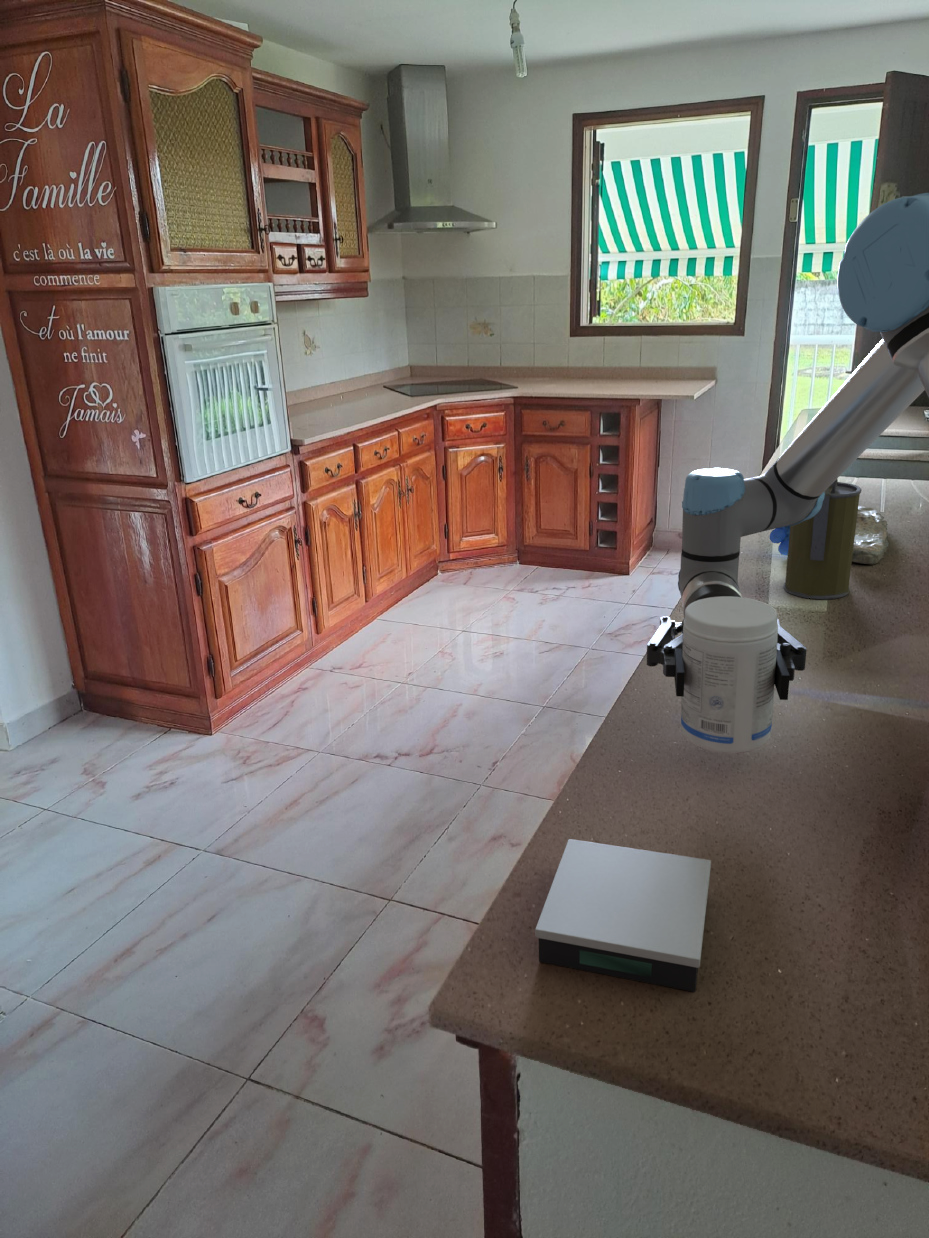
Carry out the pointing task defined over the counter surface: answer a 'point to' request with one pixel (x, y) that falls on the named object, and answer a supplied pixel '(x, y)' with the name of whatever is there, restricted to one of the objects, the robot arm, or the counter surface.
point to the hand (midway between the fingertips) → (732, 686)
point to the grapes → (781, 538)
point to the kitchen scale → (626, 914)
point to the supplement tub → (728, 673)
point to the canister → (824, 546)
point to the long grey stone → (869, 536)
